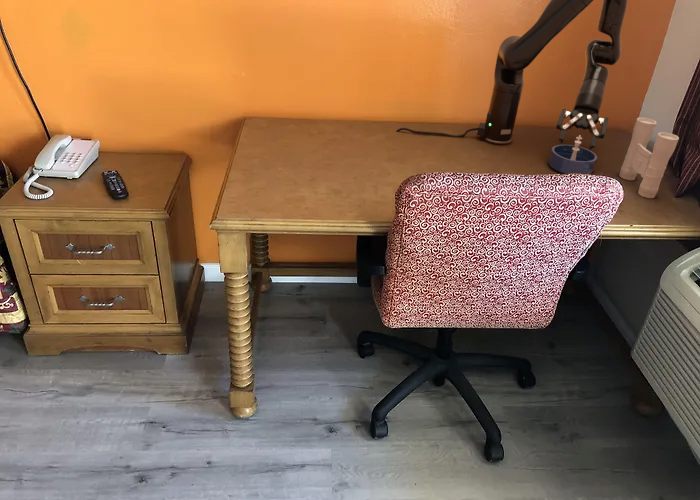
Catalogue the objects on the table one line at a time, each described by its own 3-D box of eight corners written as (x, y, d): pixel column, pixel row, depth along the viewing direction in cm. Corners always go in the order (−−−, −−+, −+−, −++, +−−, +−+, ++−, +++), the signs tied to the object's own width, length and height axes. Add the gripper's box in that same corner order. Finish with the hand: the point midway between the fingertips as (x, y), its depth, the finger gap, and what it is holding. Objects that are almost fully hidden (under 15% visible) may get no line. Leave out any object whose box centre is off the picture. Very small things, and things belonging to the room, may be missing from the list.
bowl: (547, 172, 183) (551, 156, 181) (548, 156, 194) (552, 141, 192) (593, 180, 180) (598, 165, 178) (591, 164, 191) (596, 149, 189)
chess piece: (580, 170, 185) (589, 139, 179) (563, 167, 185) (572, 137, 180) (578, 164, 189) (587, 133, 184) (562, 161, 189) (570, 131, 184)
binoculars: (614, 172, 187) (633, 116, 177) (631, 173, 187) (650, 117, 178) (642, 198, 172) (664, 139, 163) (660, 199, 173) (683, 140, 163)
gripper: (567, 87, 185) (553, 134, 182) (616, 96, 181) (602, 145, 178) (564, 99, 192) (551, 145, 189) (611, 108, 188) (598, 155, 185)
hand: (576, 145), depth 183 cm, fingers open, 8 cm apart
